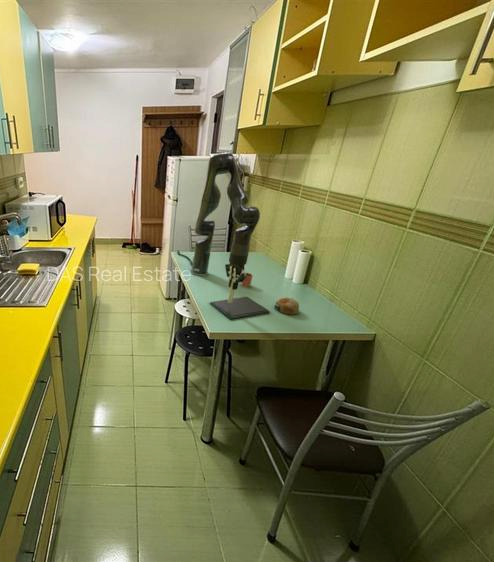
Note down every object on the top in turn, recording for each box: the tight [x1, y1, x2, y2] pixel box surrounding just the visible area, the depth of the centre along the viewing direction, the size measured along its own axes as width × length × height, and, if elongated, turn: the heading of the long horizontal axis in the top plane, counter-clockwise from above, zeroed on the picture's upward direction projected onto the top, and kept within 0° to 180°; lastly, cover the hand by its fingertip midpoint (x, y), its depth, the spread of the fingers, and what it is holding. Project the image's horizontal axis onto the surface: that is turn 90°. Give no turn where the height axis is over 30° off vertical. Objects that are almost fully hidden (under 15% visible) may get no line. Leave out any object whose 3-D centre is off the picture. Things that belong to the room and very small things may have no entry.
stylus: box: [227, 277, 237, 304], centre depth 141 cm, size 2×2×13 cm
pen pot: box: [240, 272, 254, 288], centre depth 170 cm, size 5×5×7 cm
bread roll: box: [274, 297, 300, 316], centre depth 145 cm, size 10×10×8 cm
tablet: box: [209, 296, 271, 320], centre depth 147 cm, size 16×22×1 cm
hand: (232, 287), depth 141 cm, fingers closed on stylus, 2 cm apart
